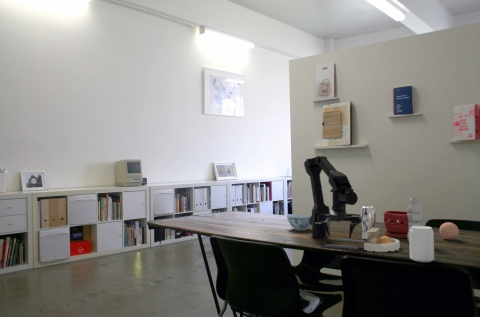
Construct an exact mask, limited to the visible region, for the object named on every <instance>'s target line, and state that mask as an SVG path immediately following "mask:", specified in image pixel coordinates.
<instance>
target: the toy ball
mask: <svg viewBox="0 0 480 317" xmlns="http://www.w3.org/2000/svg"><path fill="white" fill-rule="evenodd" d="M439 234H440V236H441V237H442V238H444V239H446V240H448V241H449V240H450V241H451V240H452V241H453V240H454V239H456V238H457V237H458V235H460V230H459V228H458V226H457V225H456V224H454V223H453V222H444V223H442V224H441V225H440V227H439Z"/></svg>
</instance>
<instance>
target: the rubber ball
mask: <svg viewBox="0 0 480 317" xmlns="http://www.w3.org/2000/svg"><path fill="white" fill-rule="evenodd" d="M380 237H381V238H380V239H379V244H389V243H392V241H391V239H390V238H391V237H389V236H387V235H383V236H380Z"/></svg>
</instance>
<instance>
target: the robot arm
mask: <svg viewBox="0 0 480 317" xmlns="http://www.w3.org/2000/svg"><path fill="white" fill-rule="evenodd" d="M303 166H304V168H305V172H306V174H307V175H308V177H309V180H310V185H311V190H312V191H311V192H312V193H311V194H312V199H313V207H312V210H311V214H310V215H311V217H310V219H309V224H310V226H311V231H312V232H311V233H312V235H311V236H310V237H311V239H312V238H313V239H326V238H331V222H337V223H340V222H342V221H343V222H350V223H349V232H348V239H350V240H352V236H353V234H354V230H355V228H356V226H358V225H359V224H362V223H361V222H362V217H361V215H356V214H355V215H351V216H347V205H348V206H349V205H350V206H354V205H356V204H357V202H358V198H359V197H358V195H357V193H356V191H355V192H354V189H353V187H352V185H351V183H350V181H349V179H348V176H347V175H346V174H345V173H343V172H341V171H339V170H337V169H336V168H335V167H334V165H333V164H332V163H331V162H330V161H329V159H328V158H327V156H325V155H317V156H315V157H313V158H306V160H305V161H304V162H303ZM322 172H323V173H324V174H325V175H326V176H327V178H328V183H329V185H330V187H331V189H330V193H332V206H331V210H330V207H329V205H326V203H325V199H324V194H323V187H322V181H321V173H322Z"/></svg>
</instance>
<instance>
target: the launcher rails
mask: <svg viewBox="0 0 480 317" xmlns="http://www.w3.org/2000/svg"><path fill="white" fill-rule="evenodd" d="M333 239H334V240H333V242H346V243H357V244H359V243H360V244H364V243H367V240H365V239H361V240H360V239H349V238H333ZM324 247H325V248H335V249H336V248H338V249H346V248H348V249H349V250H357V249H358V250H359V247H358V246H356V245H354V246H353V245H345V244H344V245H342V244H330V243H329V244H328V243H324ZM348 249H347V250H348Z"/></svg>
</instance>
